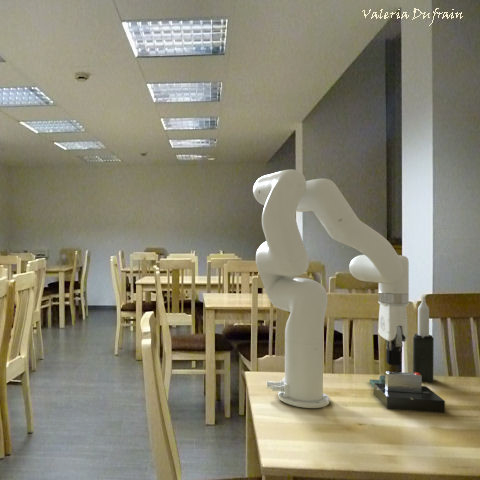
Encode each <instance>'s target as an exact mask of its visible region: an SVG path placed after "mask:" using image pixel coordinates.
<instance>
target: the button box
mask: <svg viewBox="0 0 480 480" xmlns="http://www.w3.org/2000/svg"><path fill="white" fill-rule="evenodd" d="M378 378H379V379H372V378H371V379H369V384H370V386H371V387H372V388H374V383H380V384H385V374H382V375H380V376H379V377H378Z"/></svg>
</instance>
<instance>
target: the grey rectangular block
mask: <svg viewBox="0 0 480 480" xmlns="http://www.w3.org/2000/svg"><path fill="white" fill-rule="evenodd" d="M384 375H385V389H386V390H387V391H394V392H409V393H422V386H423V385H422V383H423V382H422V376H421V374H419V373H417V372H414V373H413V372H400V371H385V374H384Z"/></svg>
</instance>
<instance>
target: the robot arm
mask: <svg viewBox="0 0 480 480" xmlns="http://www.w3.org/2000/svg"><path fill="white" fill-rule="evenodd" d="M306 179H307V178H306V176H305V175H304V173H303V172H301V171H300V170H297V169H284V170H280V171H275V172H274V173H273V172H272V173H269V174H264V175H262V176H261V177H259V178H258V179H257V180H256V181H255V183H254V184H253V188H252V194H253V197H254V199H255V200H256V201H257V202H258V203H259V204H260V205H262V206H264V207H263V210H262V214H261V227H262V231H263V234H264V237H265V241H264V242H262V243H261V244H260V245H259V247H258V248H257V250H256V253H255V265H256V269H257V272H258V275H259V277H260V280H261V282H262V284H263V288H264V291H265V293H266V295H267V298H268V300H269V302H270V303H271V304H272V305H273V306H274V307H275V308H277V309H279V310H282V311H285V312H289V316H288V318H287V320H286V324H285V327H284V377H282V380H278V381H271V380H266V389H269V390H271V392H278V399H279V400H280V401H281V402H283V403H285V404H287V405H289V406H292V407H297V408H303V409H320V408H325V407H326V406H328V405H329V404H330V397H329V396H328V394H326V393H324V329H325V328H324V327H325V326H324V325H325V318H326V312H327V308H328V304H329V303H328V301H329V300H328V299H329V297H328V293H327V290H326V288H325V287H324V285H323V284H321V283H320V282H319V281H316V280H314V279H311V278H305V277H299V276H302V275H304V274H305V273H306V272H307V271H308V269H309V267H310V260H309V254H308V252H307V249H306V246H305V243H304V241H303V238H302V235H301V232H300V230H299V225H298V222H297V212H298V213H305V212H312V213H313V214H314V215H315V217H316V218H317V219H318V221H319V222H320V224H321V225H322V227H323V228H324V230H325V231H326V233H327V234H328V236H329V237H330V238H331V239H333V240H334V241H336V242H339V243H340V244H343V245H345V246H348V247H350V248H353V249H355V250H357V251H358V252H360V253H361V254H359V255H356V256H355V257H354V258H353V259H351V261H350V263H349V266H348V270H349V273H350V275H351V276H352V277H353V278H354V279H356V280H358V281H362V282H367V283H377V284H378V304H379V310H378V325H377V326H378V328H377V330H378V331H377V333H378V335H379V336H380V337H381V338H383V339H384V340H385V347H386V351H385V352H386V356H385V357H386V364H388V365H389V366H401V365H402V363H401V361H402V359H401V358H402V356H401V355H402V354H401V353H402V348H403V344H404V343H405V342H407V340H408V314H407V306H409V304H410V302H409V301H410V300H409V298H410V297H409V296H410V294H409V293H410V292H409V291H410V289H409V288H410V287H409V285H410V284H409V281H410V280H409V279H410V278H409V277H410V275H409V274H410V273H409V272H410V271H409V266H410V265H409V258H408V257H407V256H406V255H403V254H402V255H400V254H398V253H397V251H396V250H395V247H393V245H392V244H391V242H390V241H389V240H387V238H385V236H383V235H382V234H381V233H380V232H378V231H376V230H375V229H374V228H372V227H371V226H369V225H368V224H366V223H365V222H363V221H361V220H360V218H359V217H358V216H357V215H356V213H355V212H354V210H353V208H352V207H351V206H350V203H348V201H347V199H346V197H345V196H344V195H343V193H342V191H341V190H340V189H339V188H338V186H337V185H336V183H335V182H334V181H333V180H332V179H329V178H325V177H324V178H315V179H309V180H306Z"/></svg>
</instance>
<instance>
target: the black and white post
mask: <svg viewBox="0 0 480 480" xmlns="http://www.w3.org/2000/svg"><path fill="white" fill-rule="evenodd" d="M434 343H435V342H434V337H433V335H431V334H430V307H429V306H428V304H427V302H426V297H425V296H422V297H421V302H420V304H419V306H418V307H417V333H414V335H413V337H412V373H414V372H417V373H419V374H421V376H422V383H427V384H433V383H434V347H435V346H434Z"/></svg>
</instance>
